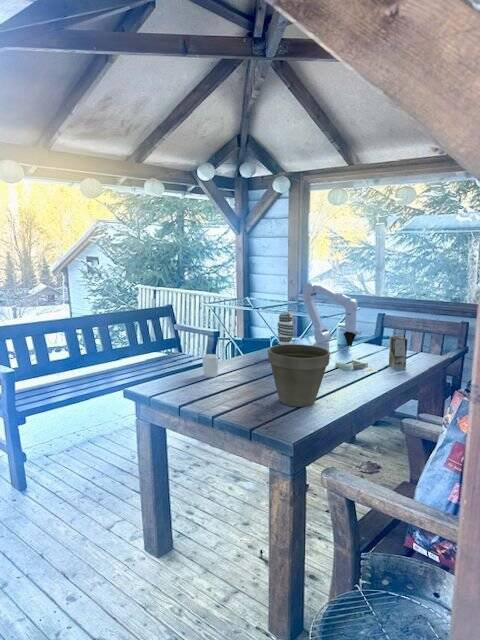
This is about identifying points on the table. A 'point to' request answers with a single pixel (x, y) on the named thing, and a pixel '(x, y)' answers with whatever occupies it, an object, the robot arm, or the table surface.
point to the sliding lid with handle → (361, 365)
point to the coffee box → (398, 352)
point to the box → (350, 366)
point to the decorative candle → (285, 329)
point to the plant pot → (298, 372)
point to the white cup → (210, 365)
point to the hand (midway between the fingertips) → (349, 345)
